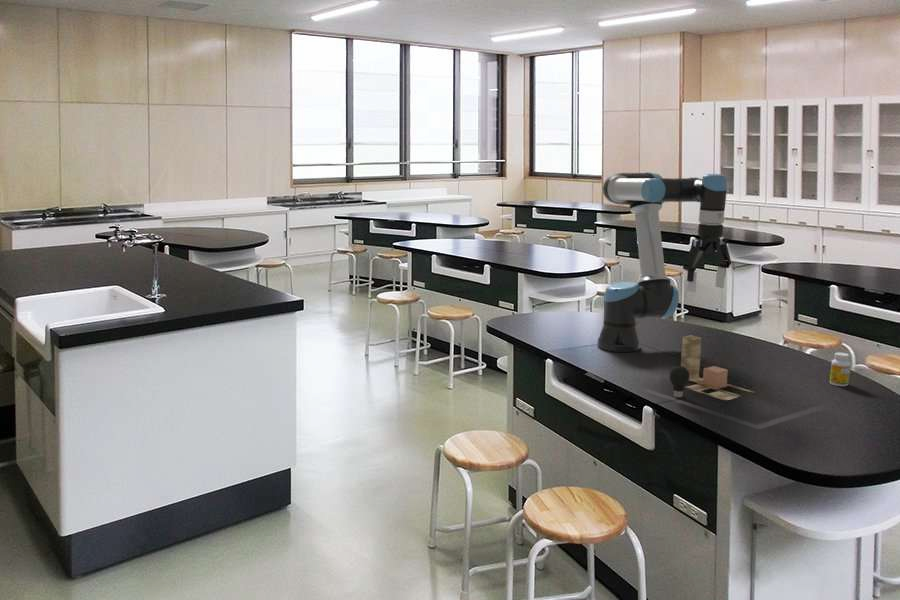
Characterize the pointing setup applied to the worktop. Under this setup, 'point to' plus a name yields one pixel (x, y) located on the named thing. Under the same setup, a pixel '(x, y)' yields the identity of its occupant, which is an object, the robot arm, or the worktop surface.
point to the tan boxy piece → (692, 357)
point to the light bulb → (679, 379)
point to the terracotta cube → (715, 377)
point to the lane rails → (719, 390)
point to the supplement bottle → (840, 370)
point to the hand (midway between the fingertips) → (705, 289)
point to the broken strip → (717, 393)
